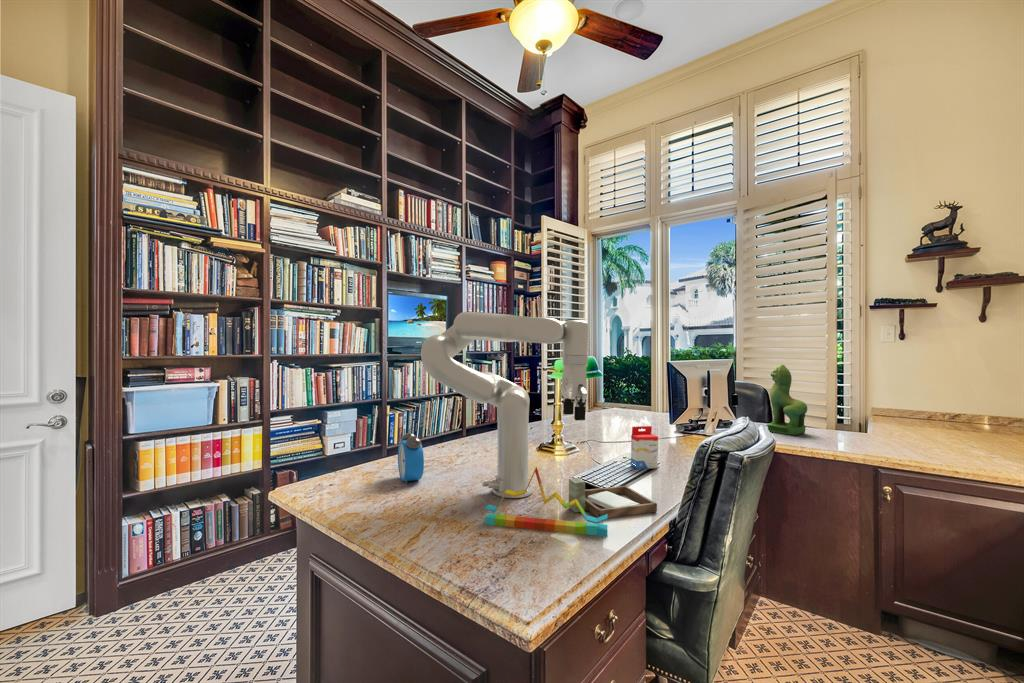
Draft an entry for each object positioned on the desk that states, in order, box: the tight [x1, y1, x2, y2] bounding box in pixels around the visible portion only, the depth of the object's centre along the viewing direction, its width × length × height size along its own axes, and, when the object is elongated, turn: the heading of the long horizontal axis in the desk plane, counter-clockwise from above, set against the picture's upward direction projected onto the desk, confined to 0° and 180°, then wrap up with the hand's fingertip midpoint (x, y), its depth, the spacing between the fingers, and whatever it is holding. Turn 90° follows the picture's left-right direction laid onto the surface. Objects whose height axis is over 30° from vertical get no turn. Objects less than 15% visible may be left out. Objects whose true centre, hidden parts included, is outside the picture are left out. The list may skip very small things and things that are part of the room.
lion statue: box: [766, 364, 808, 436], centre depth 230 cm, size 14×17×35 cm
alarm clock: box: [397, 432, 425, 485], centre depth 148 cm, size 13×6×15 cm, turn 25°
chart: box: [484, 466, 609, 537], centre depth 112 cm, size 30×3×15 cm, turn 78°
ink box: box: [630, 425, 659, 470], centre depth 166 cm, size 8×5×15 cm, turn 102°
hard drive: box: [587, 491, 640, 509], centre depth 127 cm, size 2×8×12 cm
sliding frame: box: [568, 477, 658, 519], centre depth 127 cm, size 22×16×8 cm
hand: (573, 417), depth 137 cm, fingers open, 9 cm apart
